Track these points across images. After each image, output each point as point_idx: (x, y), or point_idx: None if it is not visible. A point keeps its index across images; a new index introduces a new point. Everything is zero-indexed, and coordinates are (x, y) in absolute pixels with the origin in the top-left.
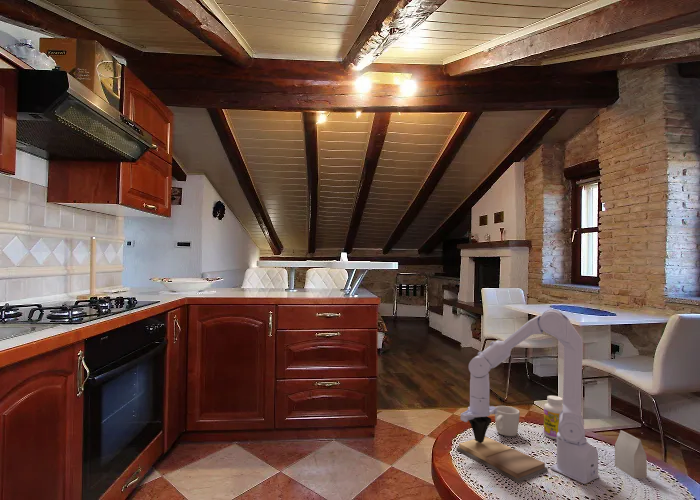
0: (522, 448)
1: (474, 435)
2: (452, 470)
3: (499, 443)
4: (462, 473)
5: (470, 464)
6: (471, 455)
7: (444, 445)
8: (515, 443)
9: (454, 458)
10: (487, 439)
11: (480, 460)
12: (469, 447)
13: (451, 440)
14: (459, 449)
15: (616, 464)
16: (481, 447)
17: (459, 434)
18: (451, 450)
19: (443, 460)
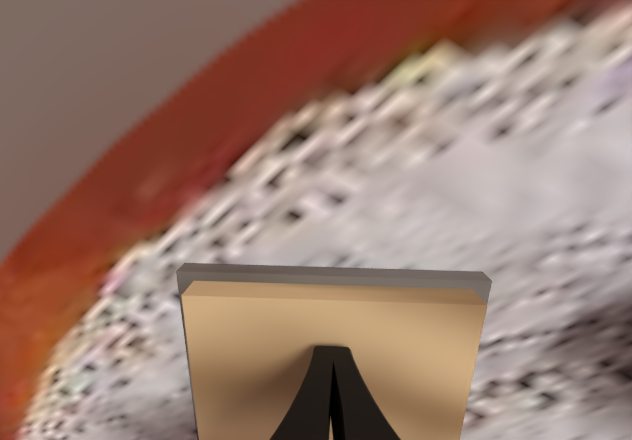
0: (577, 430)
1: (308, 372)
2: (9, 397)
3: (451, 424)
4: (42, 433)
5: (142, 403)
6: (190, 381)
7: (154, 166)
8: (622, 379)
9: (99, 325)
10: (442, 351)
11: (197, 431)
12: (205, 369)
13: (270, 128)
14: (181, 294)
15: None
16: (282, 404)
17: (433, 70)
18: (151, 247)
19: (19, 311)
